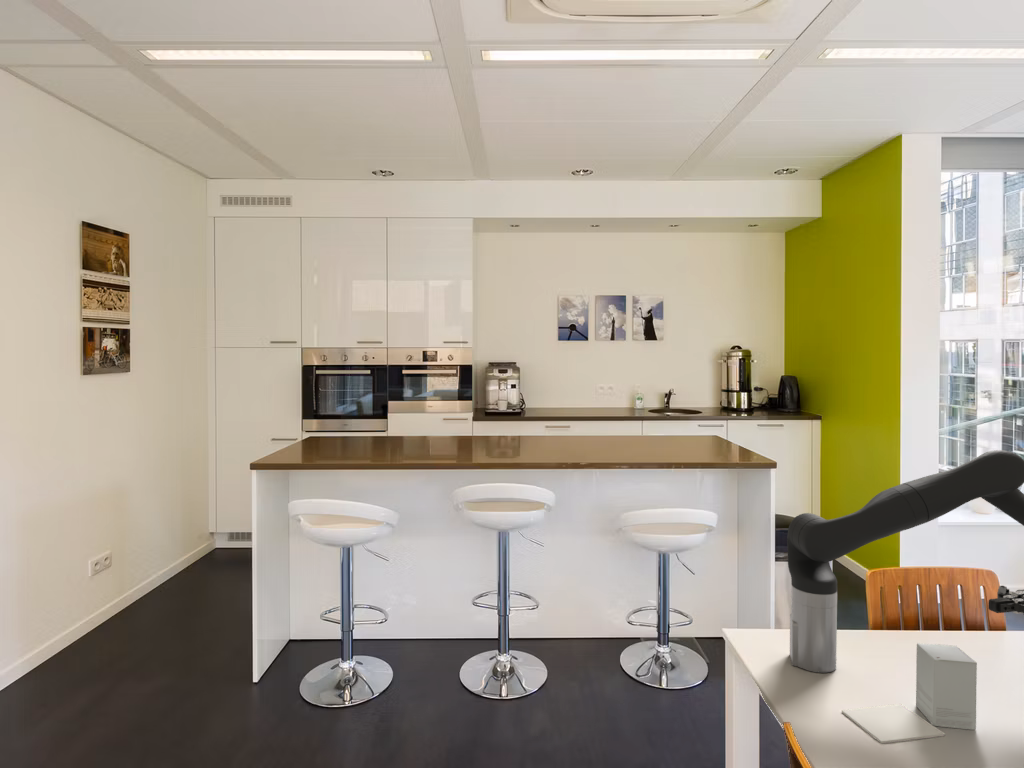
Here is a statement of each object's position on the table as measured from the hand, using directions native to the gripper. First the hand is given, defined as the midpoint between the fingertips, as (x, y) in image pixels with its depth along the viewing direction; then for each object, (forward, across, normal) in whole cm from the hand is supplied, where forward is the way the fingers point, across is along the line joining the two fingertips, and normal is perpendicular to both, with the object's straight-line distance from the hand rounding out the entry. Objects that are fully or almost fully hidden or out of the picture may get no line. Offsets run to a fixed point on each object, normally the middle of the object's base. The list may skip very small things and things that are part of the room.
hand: (992, 606), depth 117 cm
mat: (+22, 0, +20) cm, 30 cm away
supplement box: (+10, 0, +21) cm, 23 cm away
